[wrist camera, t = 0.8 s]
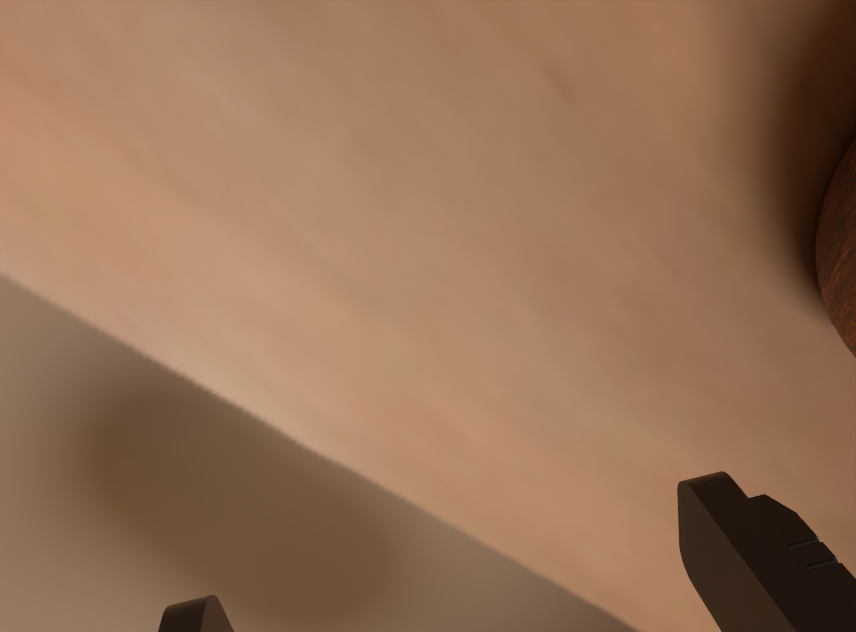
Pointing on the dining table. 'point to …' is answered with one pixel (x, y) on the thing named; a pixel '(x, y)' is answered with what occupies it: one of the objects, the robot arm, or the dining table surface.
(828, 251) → the wooden bowl
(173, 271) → the dining table surface
